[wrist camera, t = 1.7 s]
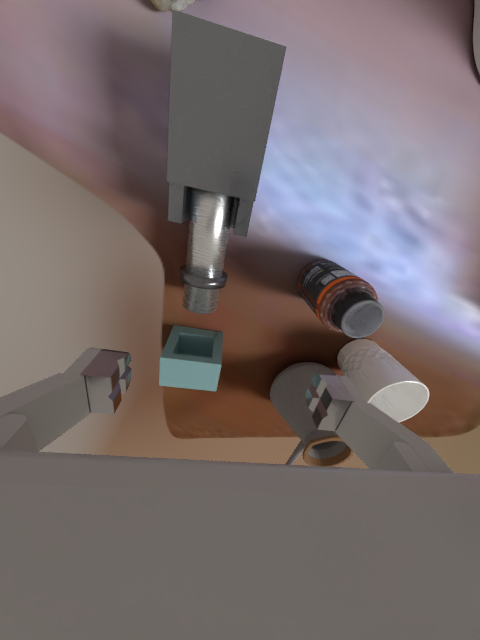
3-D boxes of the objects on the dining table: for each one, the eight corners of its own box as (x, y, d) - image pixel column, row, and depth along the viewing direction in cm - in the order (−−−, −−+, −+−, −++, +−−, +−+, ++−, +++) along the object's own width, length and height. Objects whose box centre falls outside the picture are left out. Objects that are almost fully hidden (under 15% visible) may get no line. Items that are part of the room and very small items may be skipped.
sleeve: (190, 69, 20) (172, 9, 13) (268, 92, 21) (286, 46, 14) (180, 215, 26) (165, 221, 19) (242, 228, 27) (247, 238, 20)
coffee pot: (302, 341, 35) (346, 428, 22) (346, 374, 39) (406, 465, 26) (219, 414, 42) (215, 512, 29) (263, 436, 46) (277, 531, 33)
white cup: (368, 374, 39) (408, 426, 30) (326, 371, 38) (355, 423, 30) (389, 337, 35) (442, 383, 27) (343, 332, 35) (382, 378, 26)
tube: (197, 96, 20) (188, 67, 15) (254, 112, 21) (262, 89, 16) (181, 293, 29) (173, 312, 24) (222, 300, 29) (221, 319, 25)
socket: (173, 325, 32) (160, 357, 26) (222, 332, 33) (221, 364, 27) (172, 349, 35) (159, 385, 28) (218, 355, 36) (216, 391, 29)
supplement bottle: (325, 306, 32) (368, 355, 22) (288, 292, 31) (317, 337, 21) (349, 268, 30) (410, 304, 20) (310, 251, 28) (355, 280, 18)
